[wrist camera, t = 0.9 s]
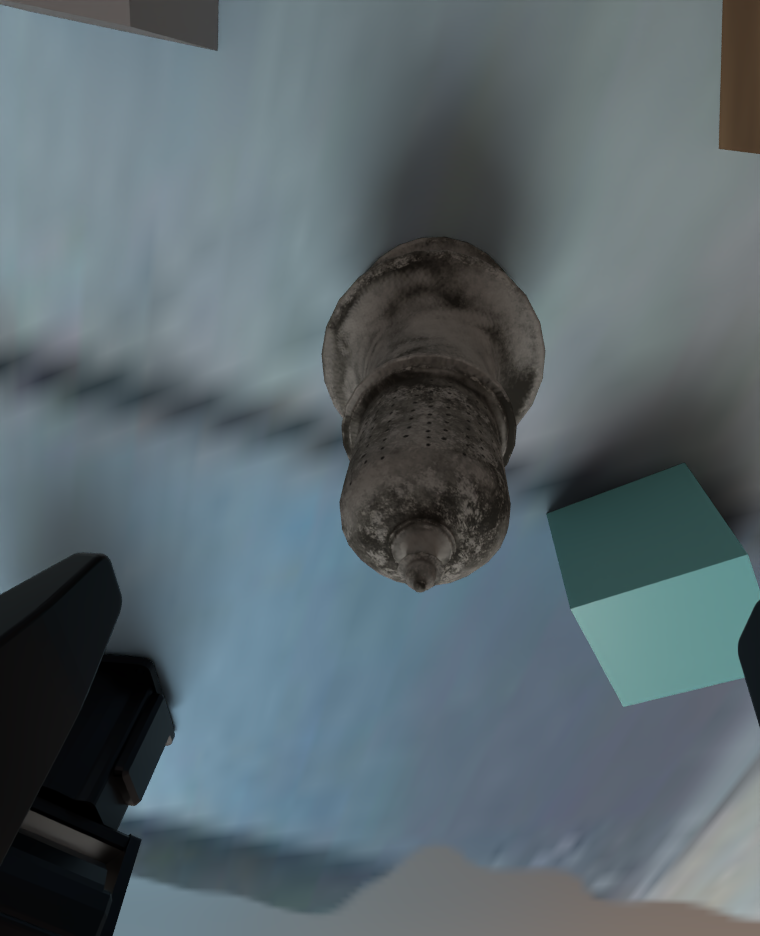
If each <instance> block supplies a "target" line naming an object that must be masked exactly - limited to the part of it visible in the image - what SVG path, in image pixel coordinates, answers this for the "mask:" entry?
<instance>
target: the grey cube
mask: <svg viewBox="0 0 760 936" xmlns="http://www.w3.org/2000/svg"><path fill="white" fill-rule="evenodd" d="M218 2H219V0H0V4H1V5H5V6H10V7H14V8H18V9H22V10H26V11H30V12H35V13H39V14H44V15H49V16H54V17H58V18H63V19H68V20H73V21H78V22H82V23H87V24H92V25H97V26H101V27H106V28H111V29H116V30H120V31H125V32H130V33H135V34H139V35H144V36H149V37H154V38H158V39H163V40H168V41H173V42H177V43H182V44H187V45H192V46H197V47H201V48H206V49H211V50H216V51H218Z"/></svg>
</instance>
